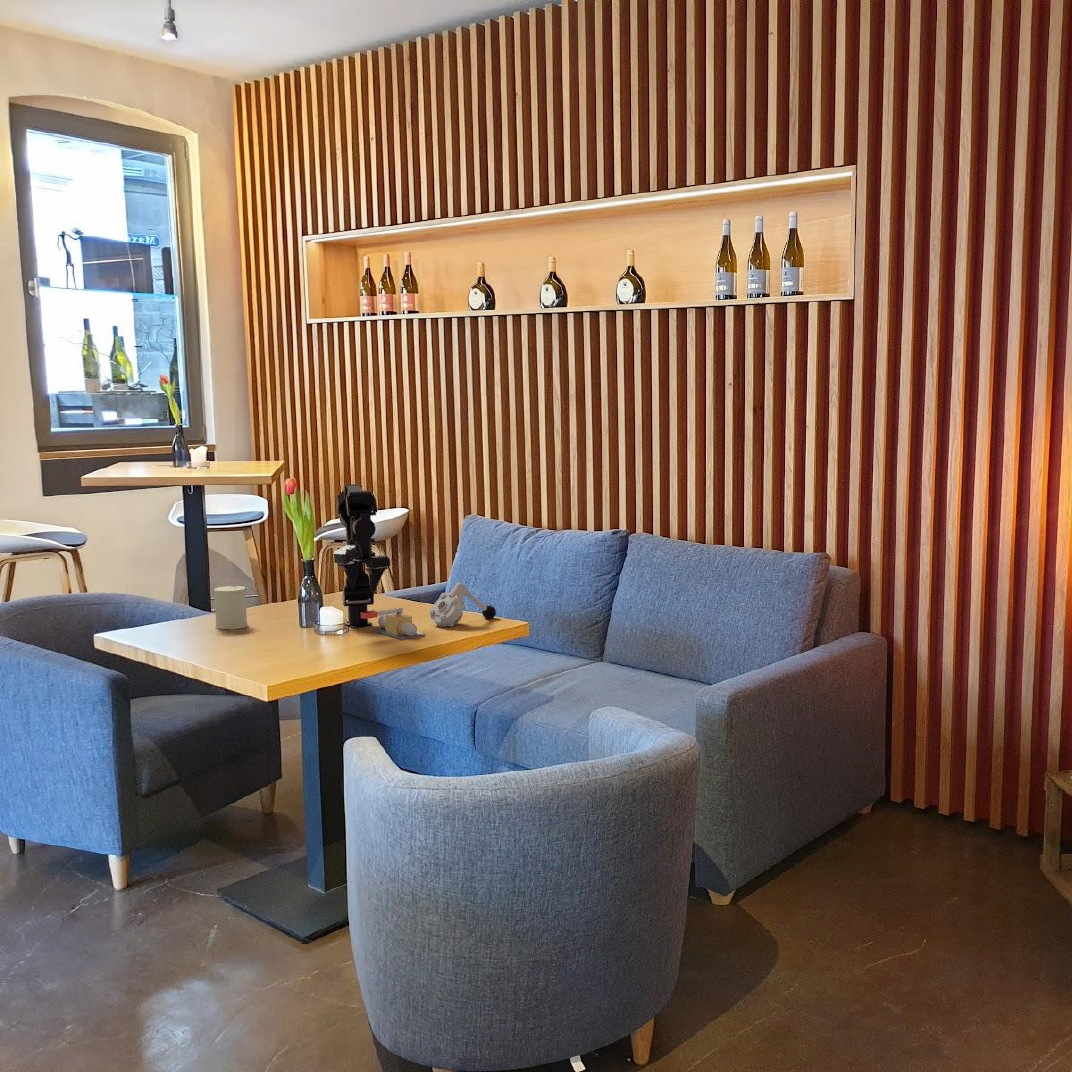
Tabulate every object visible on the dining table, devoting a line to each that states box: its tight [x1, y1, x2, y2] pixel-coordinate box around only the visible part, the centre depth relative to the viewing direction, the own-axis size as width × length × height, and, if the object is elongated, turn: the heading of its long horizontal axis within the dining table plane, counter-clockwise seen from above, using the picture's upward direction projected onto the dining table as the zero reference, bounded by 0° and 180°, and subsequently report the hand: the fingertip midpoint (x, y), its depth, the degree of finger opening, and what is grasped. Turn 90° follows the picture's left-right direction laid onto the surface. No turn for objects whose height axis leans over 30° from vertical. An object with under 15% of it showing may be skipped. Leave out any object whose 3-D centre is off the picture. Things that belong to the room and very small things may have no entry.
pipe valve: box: [370, 612, 426, 641], centre depth 323 cm, size 17×8×6 cm, turn 37°
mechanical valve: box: [428, 581, 497, 628], centre depth 338 cm, size 10×18×15 cm
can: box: [213, 585, 248, 630], centre depth 336 cm, size 9×9×12 cm
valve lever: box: [361, 607, 404, 620], centre depth 319 cm, size 13×2×2 cm, turn 127°
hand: (362, 589), depth 320 cm, fingers open, 9 cm apart
